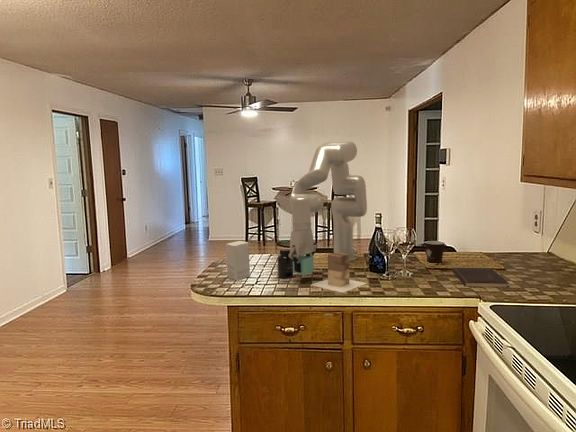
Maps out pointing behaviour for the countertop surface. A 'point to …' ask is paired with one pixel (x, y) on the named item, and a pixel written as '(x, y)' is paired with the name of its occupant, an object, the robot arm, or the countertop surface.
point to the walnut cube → (338, 262)
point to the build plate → (342, 289)
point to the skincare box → (238, 260)
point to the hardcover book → (480, 277)
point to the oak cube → (338, 278)
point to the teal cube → (305, 265)
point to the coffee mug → (434, 251)
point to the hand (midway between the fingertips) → (303, 269)
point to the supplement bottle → (285, 264)
